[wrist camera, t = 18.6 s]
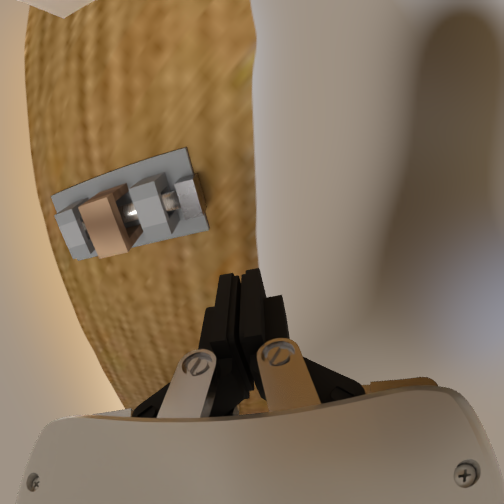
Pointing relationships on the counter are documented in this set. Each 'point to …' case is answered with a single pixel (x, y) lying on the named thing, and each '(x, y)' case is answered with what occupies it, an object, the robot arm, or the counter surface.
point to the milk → (58, 6)
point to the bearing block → (140, 193)
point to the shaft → (174, 200)
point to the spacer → (108, 223)
